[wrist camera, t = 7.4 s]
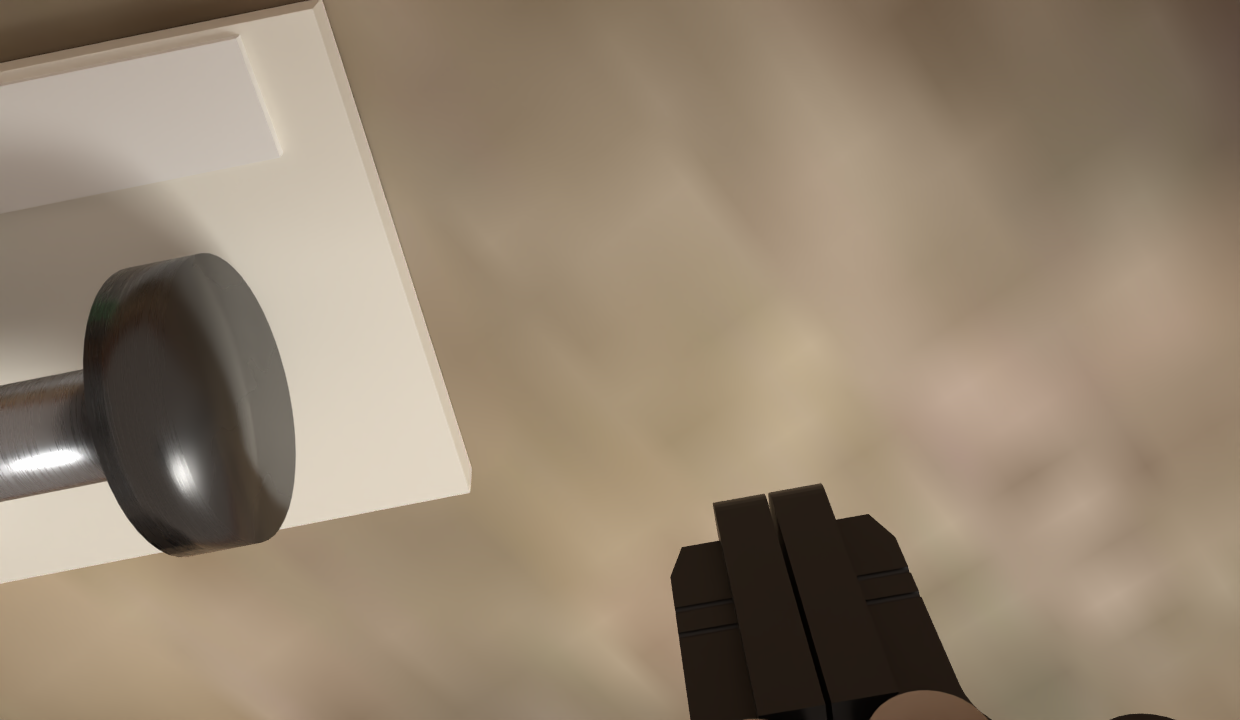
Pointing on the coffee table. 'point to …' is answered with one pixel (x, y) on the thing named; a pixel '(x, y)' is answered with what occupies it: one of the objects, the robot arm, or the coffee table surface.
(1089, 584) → the coffee table surface
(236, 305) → the plunger
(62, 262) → the gauge body
